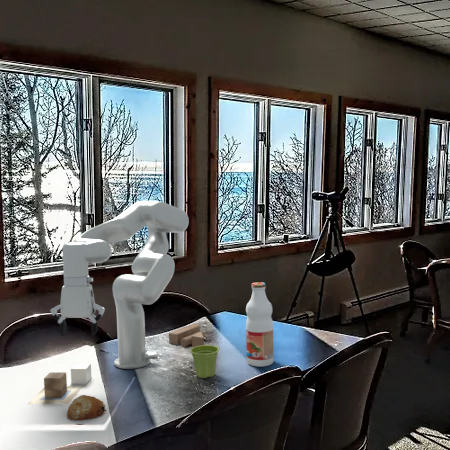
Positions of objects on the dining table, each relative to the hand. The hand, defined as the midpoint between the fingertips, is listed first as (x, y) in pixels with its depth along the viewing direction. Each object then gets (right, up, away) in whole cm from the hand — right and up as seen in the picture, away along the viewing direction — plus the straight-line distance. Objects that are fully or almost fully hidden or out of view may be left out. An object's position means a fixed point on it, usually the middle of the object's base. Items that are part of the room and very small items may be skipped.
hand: (78, 334), depth 184 cm
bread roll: (+8, -19, -24) cm, 31 cm away
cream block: (+1, -16, +1) cm, 16 cm away
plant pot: (+40, -15, +7) cm, 43 cm away
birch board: (-4, -17, -10) cm, 20 cm away
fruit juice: (+59, -13, +18) cm, 63 cm away
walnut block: (-4, -16, -10) cm, 20 cm away
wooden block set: (+36, -12, +46) cm, 60 cm away
